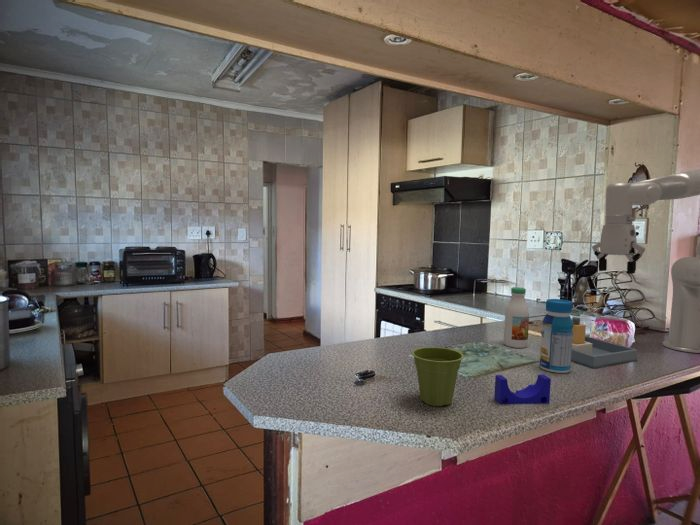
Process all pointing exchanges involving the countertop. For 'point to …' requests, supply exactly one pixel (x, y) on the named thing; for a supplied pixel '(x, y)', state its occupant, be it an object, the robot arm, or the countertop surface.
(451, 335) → the countertop surface
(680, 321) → the robot arm
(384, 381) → the countertop surface
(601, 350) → the walled box
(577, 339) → the orange square bottle
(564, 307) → the beverage bottle
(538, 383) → the blue u-shaped cradle
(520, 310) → the milk bottle
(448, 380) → the plant pot
